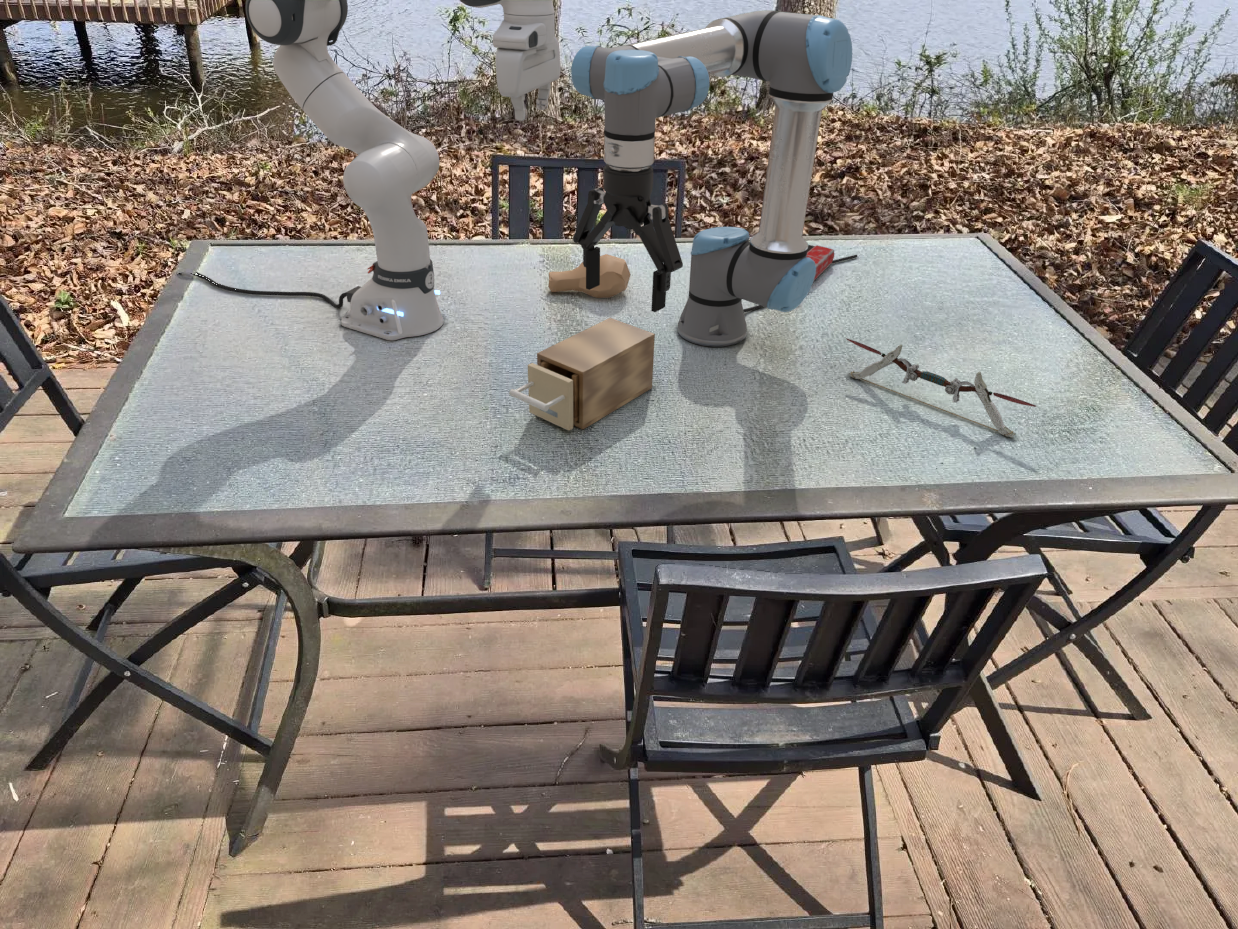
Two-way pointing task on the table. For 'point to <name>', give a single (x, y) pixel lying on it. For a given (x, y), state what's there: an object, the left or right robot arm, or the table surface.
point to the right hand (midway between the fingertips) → (624, 297)
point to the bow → (950, 387)
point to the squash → (611, 278)
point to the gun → (820, 257)
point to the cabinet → (605, 366)
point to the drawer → (551, 394)
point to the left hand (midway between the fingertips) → (532, 114)
